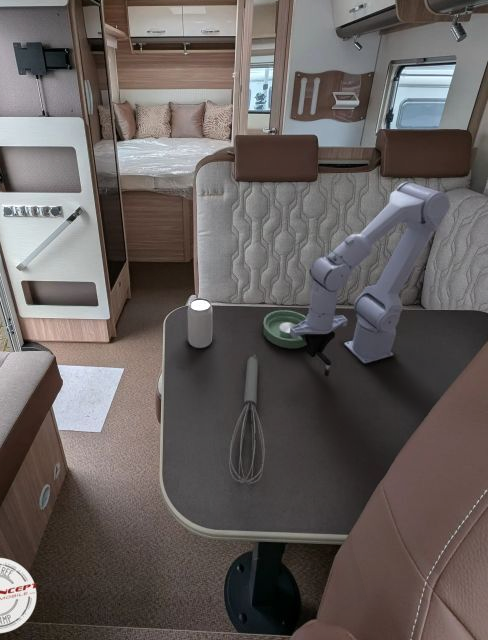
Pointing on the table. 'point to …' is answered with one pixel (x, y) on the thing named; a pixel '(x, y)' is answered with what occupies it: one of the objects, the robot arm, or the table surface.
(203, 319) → the can
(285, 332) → the ladle
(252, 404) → the kitchen whisk
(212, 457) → the table surface
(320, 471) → the table surface
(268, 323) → the bowl
